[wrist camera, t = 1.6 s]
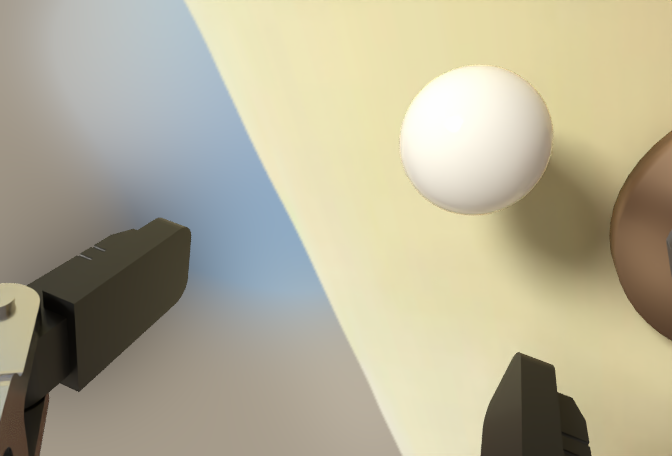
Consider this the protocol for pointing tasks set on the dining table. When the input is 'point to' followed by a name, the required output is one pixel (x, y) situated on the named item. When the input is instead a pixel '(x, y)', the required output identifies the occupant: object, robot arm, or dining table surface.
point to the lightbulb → (476, 140)
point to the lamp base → (646, 236)
